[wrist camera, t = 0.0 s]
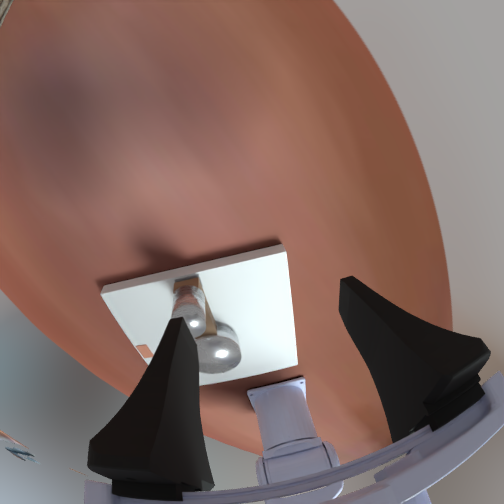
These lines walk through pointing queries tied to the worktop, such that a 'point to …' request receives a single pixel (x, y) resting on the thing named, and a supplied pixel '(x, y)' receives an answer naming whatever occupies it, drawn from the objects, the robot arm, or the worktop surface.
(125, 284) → the base
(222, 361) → the silver piece
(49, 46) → the worktop surface
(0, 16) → the washcloth
